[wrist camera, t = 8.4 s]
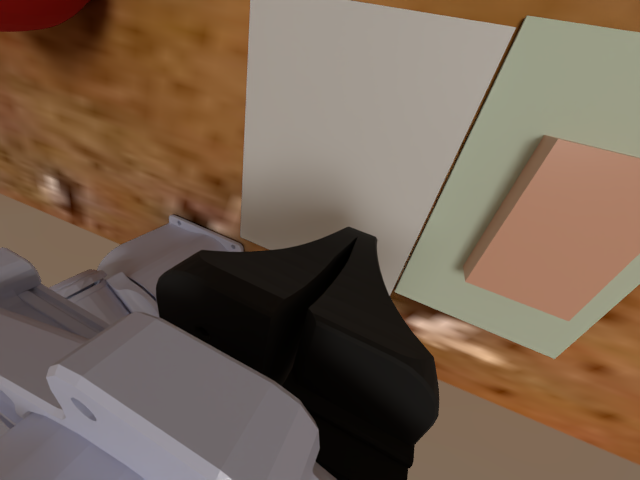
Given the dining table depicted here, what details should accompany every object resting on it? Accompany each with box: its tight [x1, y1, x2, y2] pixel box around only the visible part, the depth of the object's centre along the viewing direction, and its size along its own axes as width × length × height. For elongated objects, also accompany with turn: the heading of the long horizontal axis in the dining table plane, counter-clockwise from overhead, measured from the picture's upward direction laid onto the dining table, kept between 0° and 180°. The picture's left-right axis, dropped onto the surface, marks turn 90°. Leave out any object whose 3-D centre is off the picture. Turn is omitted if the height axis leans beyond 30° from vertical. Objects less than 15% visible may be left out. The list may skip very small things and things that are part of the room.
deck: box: [240, 0, 516, 296], centre depth 18 cm, size 13×16×3 cm
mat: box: [395, 16, 640, 359], centre depth 16 cm, size 12×18×1 cm, turn 167°
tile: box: [463, 135, 640, 321], centre depth 15 cm, size 6×9×2 cm, turn 167°
